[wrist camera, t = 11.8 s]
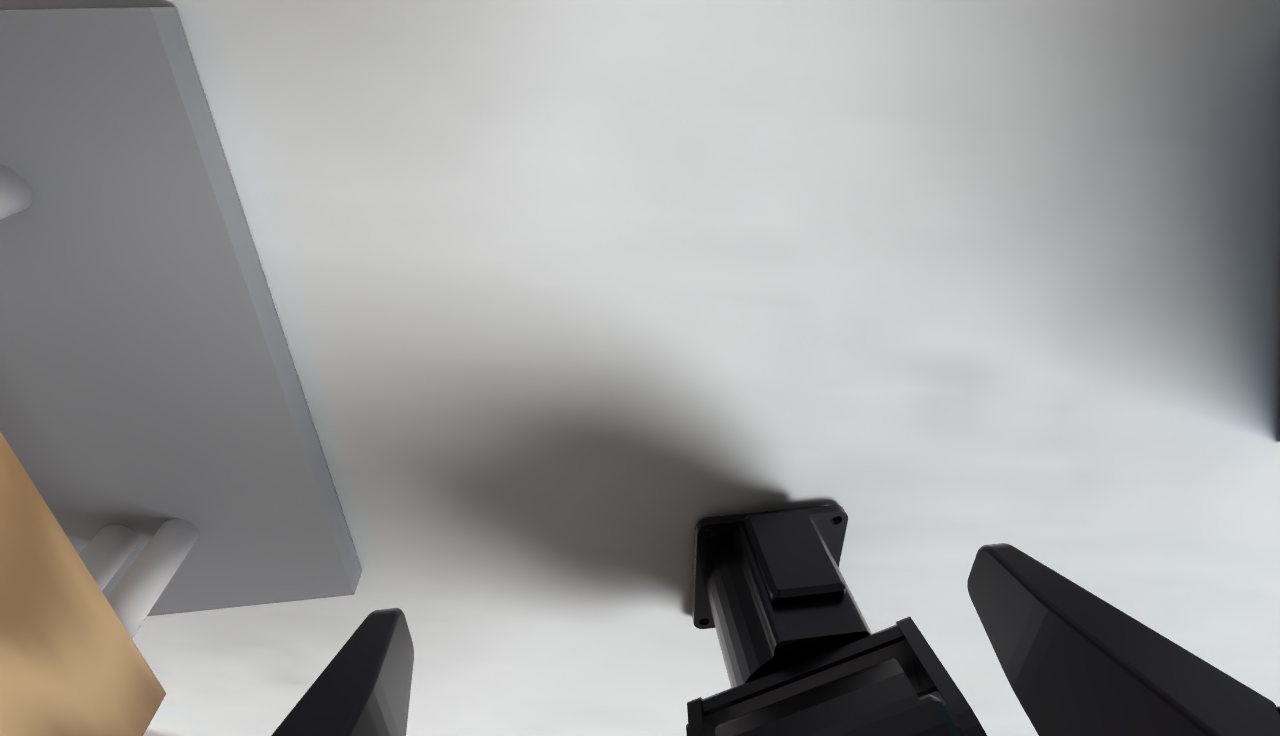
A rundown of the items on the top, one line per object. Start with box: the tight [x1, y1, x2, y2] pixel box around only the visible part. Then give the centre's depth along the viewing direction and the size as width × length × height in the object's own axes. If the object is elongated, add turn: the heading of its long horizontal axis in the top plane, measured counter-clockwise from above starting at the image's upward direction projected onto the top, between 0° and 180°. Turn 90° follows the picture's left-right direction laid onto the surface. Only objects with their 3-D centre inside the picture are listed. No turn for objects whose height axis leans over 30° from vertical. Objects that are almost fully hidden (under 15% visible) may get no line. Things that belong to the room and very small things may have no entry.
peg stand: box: [0, 7, 362, 639], centre depth 18 cm, size 20×12×6 cm, turn 1°
